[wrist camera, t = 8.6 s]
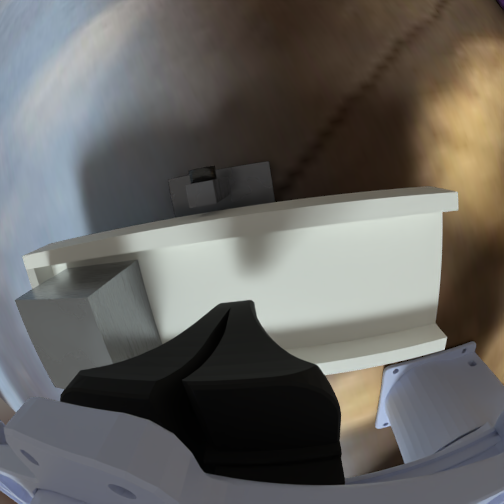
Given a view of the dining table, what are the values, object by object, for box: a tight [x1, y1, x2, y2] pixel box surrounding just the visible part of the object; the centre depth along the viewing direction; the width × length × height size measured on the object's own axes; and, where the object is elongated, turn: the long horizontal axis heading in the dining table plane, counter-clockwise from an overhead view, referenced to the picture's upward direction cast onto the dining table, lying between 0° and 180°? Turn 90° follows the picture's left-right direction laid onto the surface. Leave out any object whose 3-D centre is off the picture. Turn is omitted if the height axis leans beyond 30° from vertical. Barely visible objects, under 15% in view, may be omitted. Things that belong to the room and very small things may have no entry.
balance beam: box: [22, 186, 458, 375], centre depth 14 cm, size 22×8×3 cm, turn 99°
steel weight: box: [15, 260, 162, 389], centre depth 12 cm, size 5×5×4 cm
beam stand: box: [168, 161, 275, 218], centre depth 16 cm, size 6×12×6 cm, turn 9°
